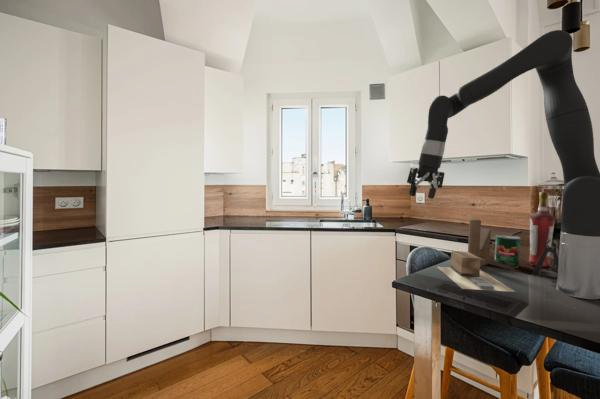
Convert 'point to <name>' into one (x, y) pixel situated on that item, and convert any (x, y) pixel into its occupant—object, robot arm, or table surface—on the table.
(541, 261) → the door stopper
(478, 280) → the grey chip
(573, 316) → the table surface
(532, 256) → the liquor
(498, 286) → the birch board
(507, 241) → the canned tomato
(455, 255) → the walnut block
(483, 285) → the grey chip
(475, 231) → the wooden block
